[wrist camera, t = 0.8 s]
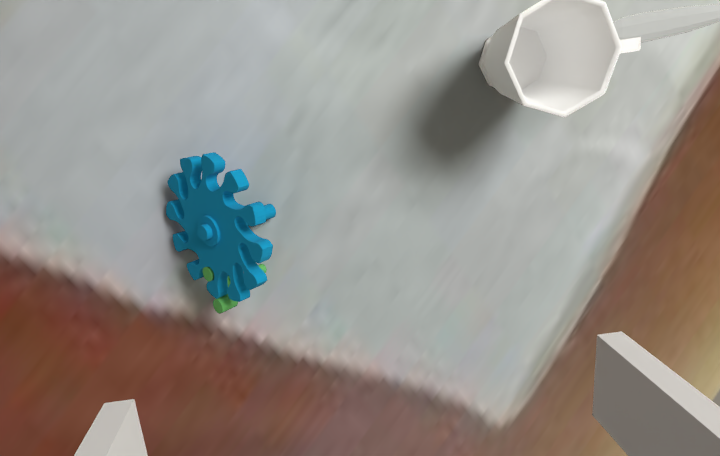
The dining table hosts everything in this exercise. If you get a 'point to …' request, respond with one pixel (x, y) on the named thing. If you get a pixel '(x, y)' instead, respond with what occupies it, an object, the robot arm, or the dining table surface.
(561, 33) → the cup
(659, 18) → the butter knife
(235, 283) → the gear
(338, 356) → the dining table surface
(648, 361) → the robot arm
